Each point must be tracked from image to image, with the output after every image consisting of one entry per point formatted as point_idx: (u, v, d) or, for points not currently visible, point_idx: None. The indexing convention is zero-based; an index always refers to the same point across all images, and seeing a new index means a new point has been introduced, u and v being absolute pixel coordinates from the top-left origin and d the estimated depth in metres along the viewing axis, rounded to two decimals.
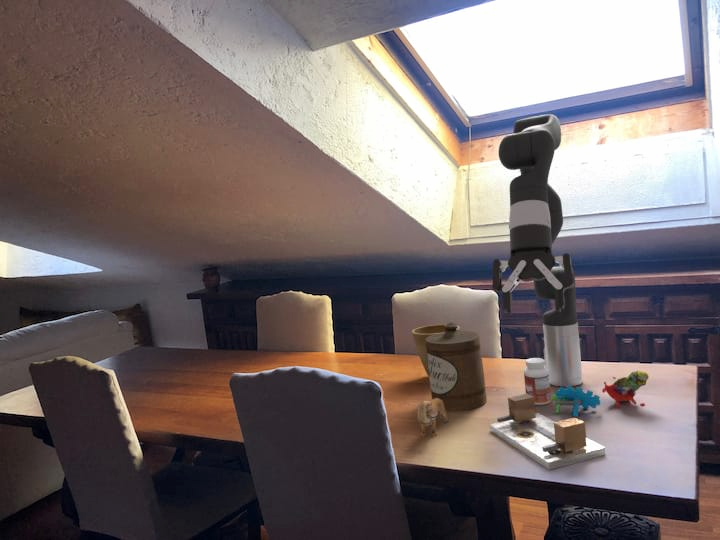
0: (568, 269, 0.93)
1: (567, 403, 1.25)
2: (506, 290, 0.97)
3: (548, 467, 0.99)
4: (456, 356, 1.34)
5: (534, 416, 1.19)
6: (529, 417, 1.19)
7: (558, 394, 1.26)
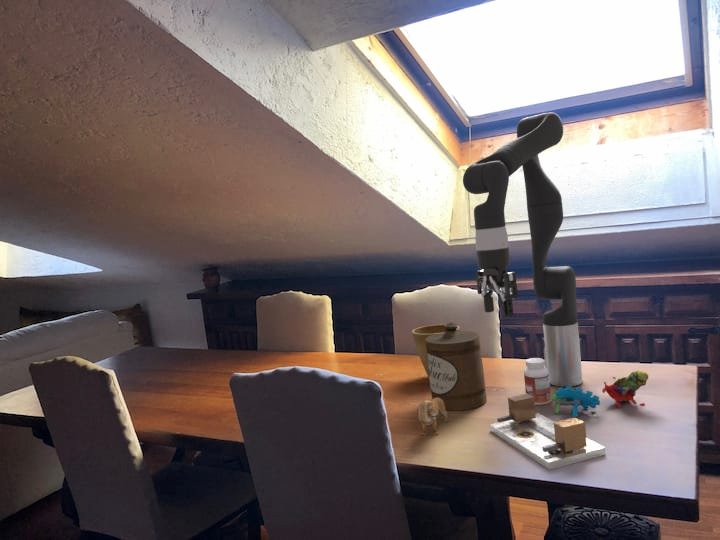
0: (506, 286, 1.17)
1: (567, 403, 1.25)
2: (482, 296, 1.28)
3: (548, 467, 0.99)
4: (456, 356, 1.34)
5: (534, 416, 1.19)
6: (529, 417, 1.19)
7: (558, 394, 1.26)
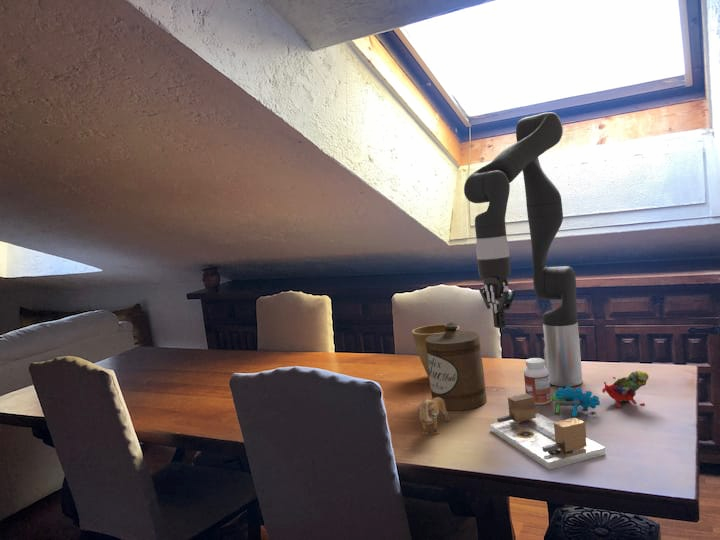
0: (501, 302, 1.20)
1: (566, 403, 1.25)
2: (492, 310, 1.25)
3: (548, 467, 0.99)
4: (456, 356, 1.34)
5: (534, 416, 1.19)
6: (529, 417, 1.19)
7: (557, 394, 1.26)
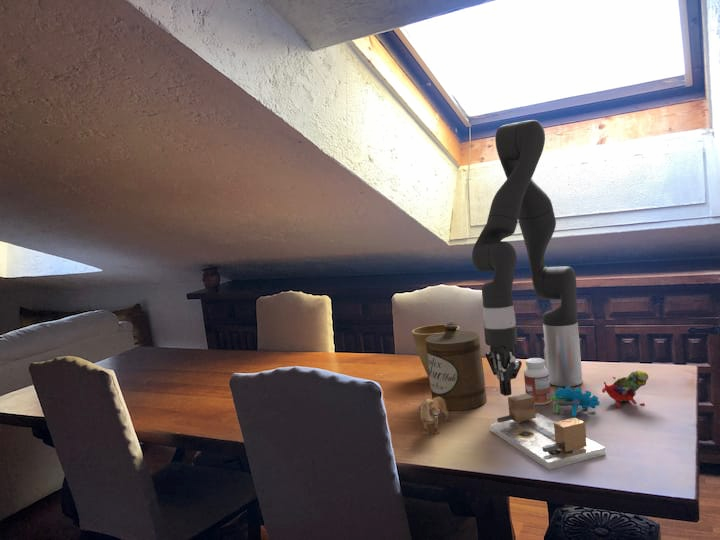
0: (508, 371, 1.21)
1: (566, 403, 1.25)
2: (498, 378, 1.26)
3: (548, 467, 0.99)
4: (456, 356, 1.34)
5: (534, 416, 1.19)
6: (529, 417, 1.19)
7: (557, 394, 1.26)
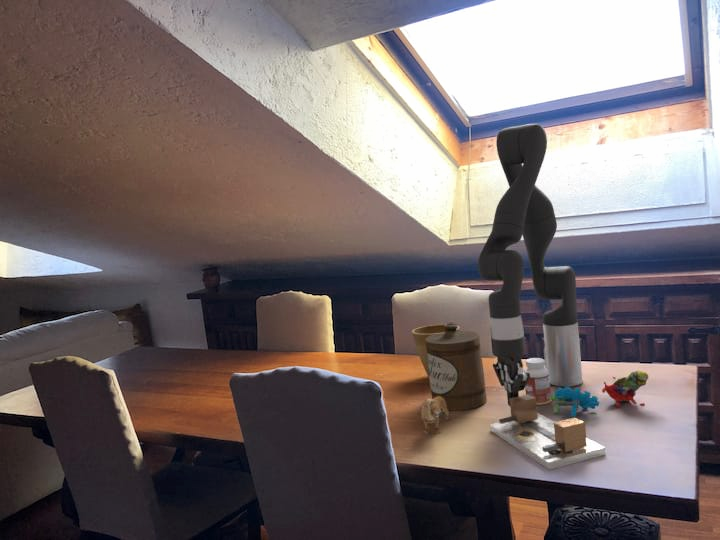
0: (516, 383, 1.18)
1: (565, 403, 1.25)
2: (506, 389, 1.23)
3: (548, 467, 0.99)
4: (456, 356, 1.34)
5: (536, 417, 1.19)
6: (531, 418, 1.18)
7: (557, 394, 1.26)
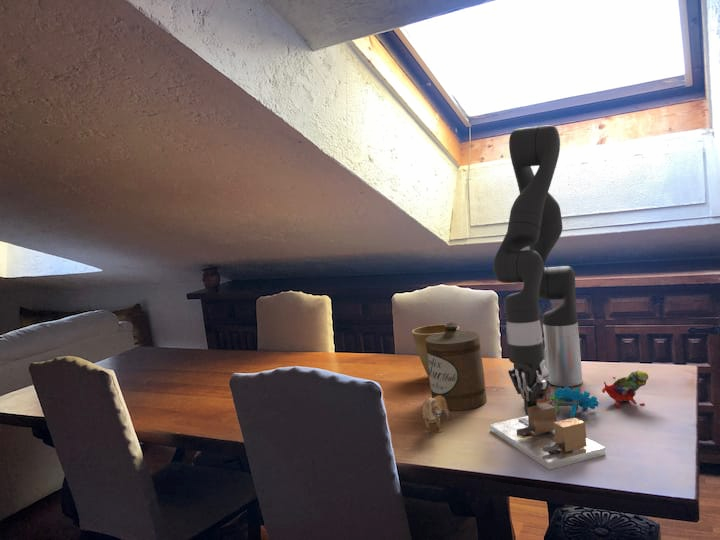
0: (535, 392, 1.11)
1: (565, 403, 1.25)
2: (523, 397, 1.16)
3: (548, 467, 0.99)
4: (456, 356, 1.34)
5: None
6: (550, 429, 1.11)
7: (556, 394, 1.26)
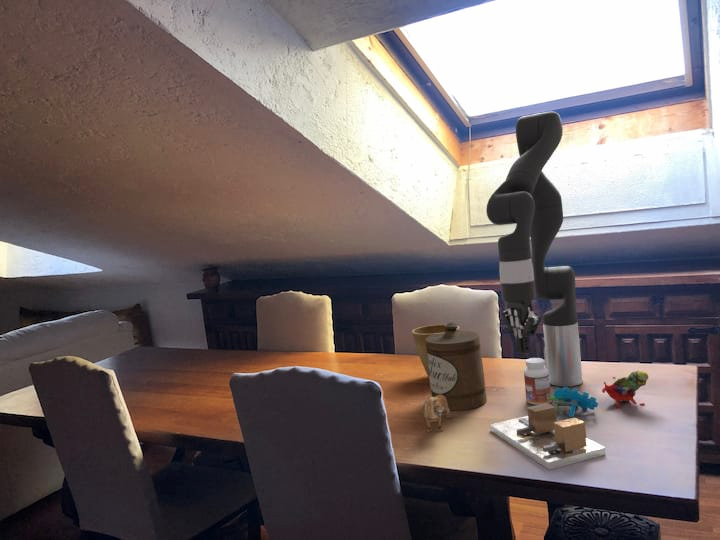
0: (526, 327, 1.16)
1: (564, 404, 1.25)
2: (516, 335, 1.21)
3: (548, 467, 0.99)
4: (456, 356, 1.34)
5: None
6: (550, 429, 1.11)
7: (556, 394, 1.26)
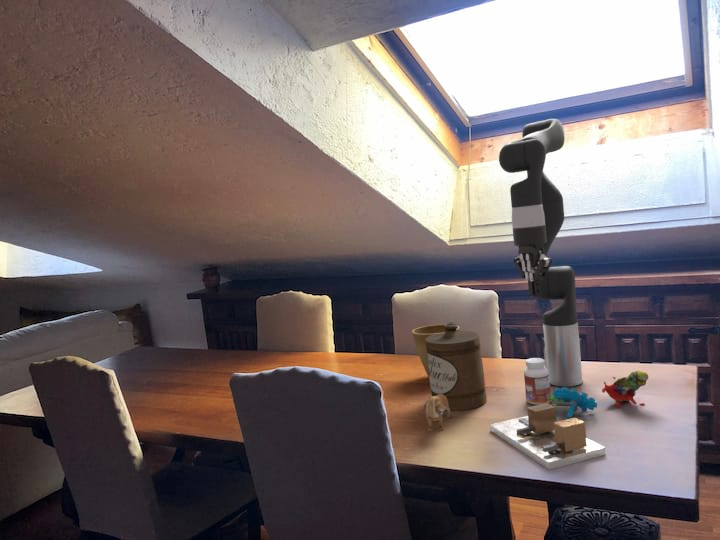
0: (538, 270, 1.21)
1: (563, 404, 1.25)
2: (527, 279, 1.25)
3: (548, 467, 0.99)
4: (456, 356, 1.34)
5: None
6: (550, 429, 1.11)
7: (555, 394, 1.26)
